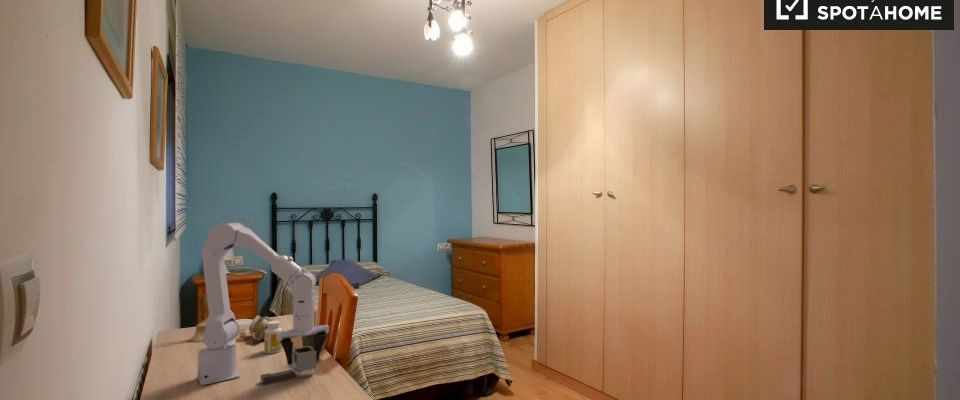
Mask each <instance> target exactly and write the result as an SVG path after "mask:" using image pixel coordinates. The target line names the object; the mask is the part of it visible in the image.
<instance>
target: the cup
mask: <svg viewBox="0 0 960 400" xmlns="http://www.w3.org/2000/svg"><path fill="white" fill-rule="evenodd" d="M325 334H327V333H325ZM301 340H302V341H301V342H302V347H306V346H311V347H312V348H314V338H313V335H307V336H302V337H301ZM326 340H327V339H326ZM326 340H325V341H324V343H323V345H322V348H321V351H320V354H322V353H323V351H324V350H325V346H326ZM320 356H321V355H319V358H320ZM316 361H318V359H316Z"/></svg>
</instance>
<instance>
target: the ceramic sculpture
mask: <svg viewBox="0 0 960 400" xmlns="http://www.w3.org/2000/svg"><path fill="white" fill-rule="evenodd" d="M270 321H273V320H272V319H271V318H269V317H268V316H267V315H262V316H260V315H258V314H257V315H255V317H254V318H253V319H252V321H251V323H250V325H249V326H248V330H249V333H250V334H251V338H252V340H253V341H255V342H259V341H260V342H261V341H265V330H266V329H267V328H268V327H267V322H270ZM282 332H284V330H282Z"/></svg>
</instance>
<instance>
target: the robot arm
mask: <svg viewBox="0 0 960 400" xmlns="http://www.w3.org/2000/svg"><path fill="white" fill-rule="evenodd" d="M207 235H208V236H207V237H208V238H207V240H206V242H205V245H204V246H203V249H202V251H201V258H202V266H203V267H202V268H203V274H204V285H205V292H206V298H207V301H208V306H207V310H208V316H207V317H206V319H207V321H206V323H205V328H206V329H205V333H204V335H203V341H204V342H203V343H204V345H205V347H204V348H201V349H198V352H197V372H196V373H197V380H198V381H199V383H200V385H201V386H205V385H209V384H214V383H219V382H222V381H228V380H233V379H238V378H240V376H241V375H240V374H239V372H238V371H237V340H236V337H237V336H238V335H239V334H240V324H239V323H238V321H237V320H236V317H235V313H234V312H233V311H232V310H231V305H230V304H231V303H230V297H229V296H230V295H229V289H228V278H227V272H226V271H227V270H226V262H225V256H226V255H227V253H228V252H230V251H231V249H232V248H234V247H239V248H247V249H249V250H250V251H252V252H253V253H254V254H256V255H257V256H258V257H260V258H261V259H263V261H265V262H267V263H268V264H269V265H270V270H271V272H272V273H274V274H275V275H277V277H278V278H280V280H281V279H282V281H284V282H285V283H286V284H287V285H290V289H291V291H292V293H293V304H292V305H293V306H292V309H293V310H292V311H293V312H292V313H293V314H292V329H288V330H283V332H279V333H276V340H277V341H280V343H281V345H282V350H283V351H284V354H285V357H286V363H287V364H288V365H289V366H290V365H292V349H294V348H293V346H294V342H293V341H292V339H296V338H302V336H307V335H313V338H314V349H315V350H316V359H317V360H319V358H320V357H319V355H320V354H321V353H320V351H321V348H322V345H323V343H324V341H325V340H327V338H328V337H327V336H328V335H327V334H328V333H330V325H328V324H323V325H315V296H314V295H315V289H314V288H315V286H316V285H317V277H316V275H314V274H313V272H311V271H310V270H309V271H307V269H306V268H305V267H301V266H300V265H298V264H297V263H296V262H295V261H294V257H292V256H287V255H279V254H278V253H277V252H276V251H275V250H273V248H272V247H270V246H269V245H268V244H267V243H266V242H265V241H263V239H261V238H260V237H259V236H258V235H256V233H255V232H254V231H253V230H251V229H250V228H249V227H246V225H244V224H243V223H241V222H239V221H238V222H236V221H234V222H229V223H219V224H216V225H215V226H214V227H213V228H212V229H211V230H210V231H208V234H207ZM325 333H326V334H325ZM325 342H326V341H325ZM320 356H321V355H320Z"/></svg>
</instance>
